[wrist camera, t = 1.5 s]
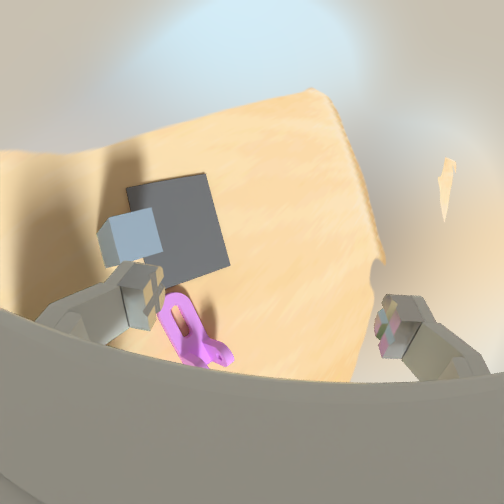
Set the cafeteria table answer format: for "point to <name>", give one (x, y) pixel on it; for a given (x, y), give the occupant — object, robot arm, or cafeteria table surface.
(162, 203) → the mat
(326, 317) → the cafeteria table surface
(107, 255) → the slate block
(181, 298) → the bracket
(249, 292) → the cafeteria table surface
